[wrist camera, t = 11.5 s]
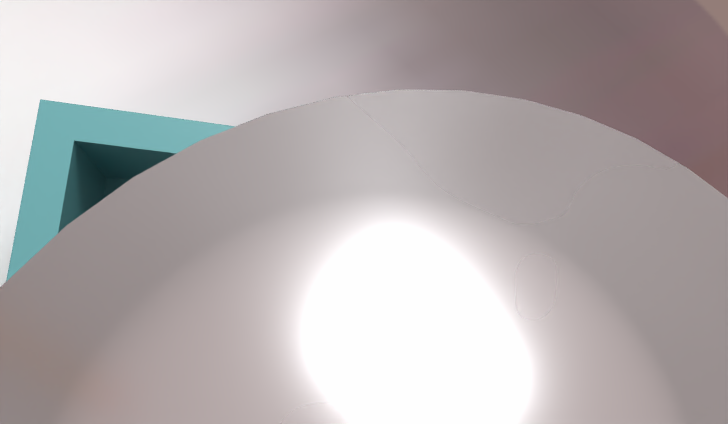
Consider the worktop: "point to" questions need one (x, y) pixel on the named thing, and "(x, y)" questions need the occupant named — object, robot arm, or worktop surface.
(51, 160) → the teal bin
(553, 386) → the grey can
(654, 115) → the worktop surface
